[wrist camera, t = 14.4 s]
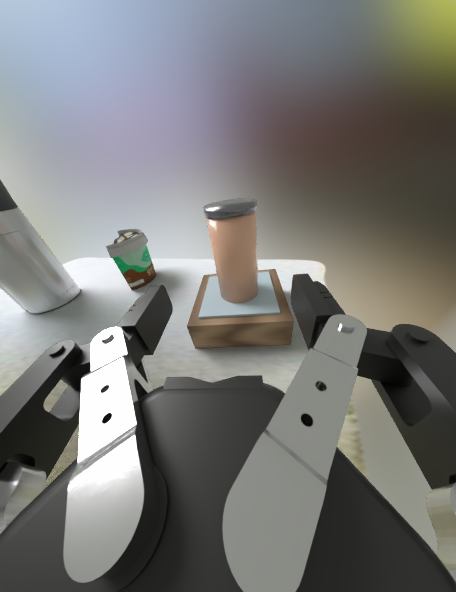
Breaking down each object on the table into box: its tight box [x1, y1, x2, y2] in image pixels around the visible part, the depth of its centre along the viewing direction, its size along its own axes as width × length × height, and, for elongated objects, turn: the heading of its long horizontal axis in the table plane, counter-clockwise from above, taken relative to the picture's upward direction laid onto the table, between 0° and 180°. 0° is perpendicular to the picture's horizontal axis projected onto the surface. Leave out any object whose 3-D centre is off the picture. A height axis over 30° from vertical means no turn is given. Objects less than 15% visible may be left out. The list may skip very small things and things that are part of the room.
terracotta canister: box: [203, 198, 258, 303], centre depth 21 cm, size 5×5×11 cm
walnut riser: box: [187, 269, 293, 348], centre depth 26 cm, size 12×12×4 cm
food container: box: [106, 229, 156, 290], centre depth 39 cm, size 12×6×10 cm, turn 18°
